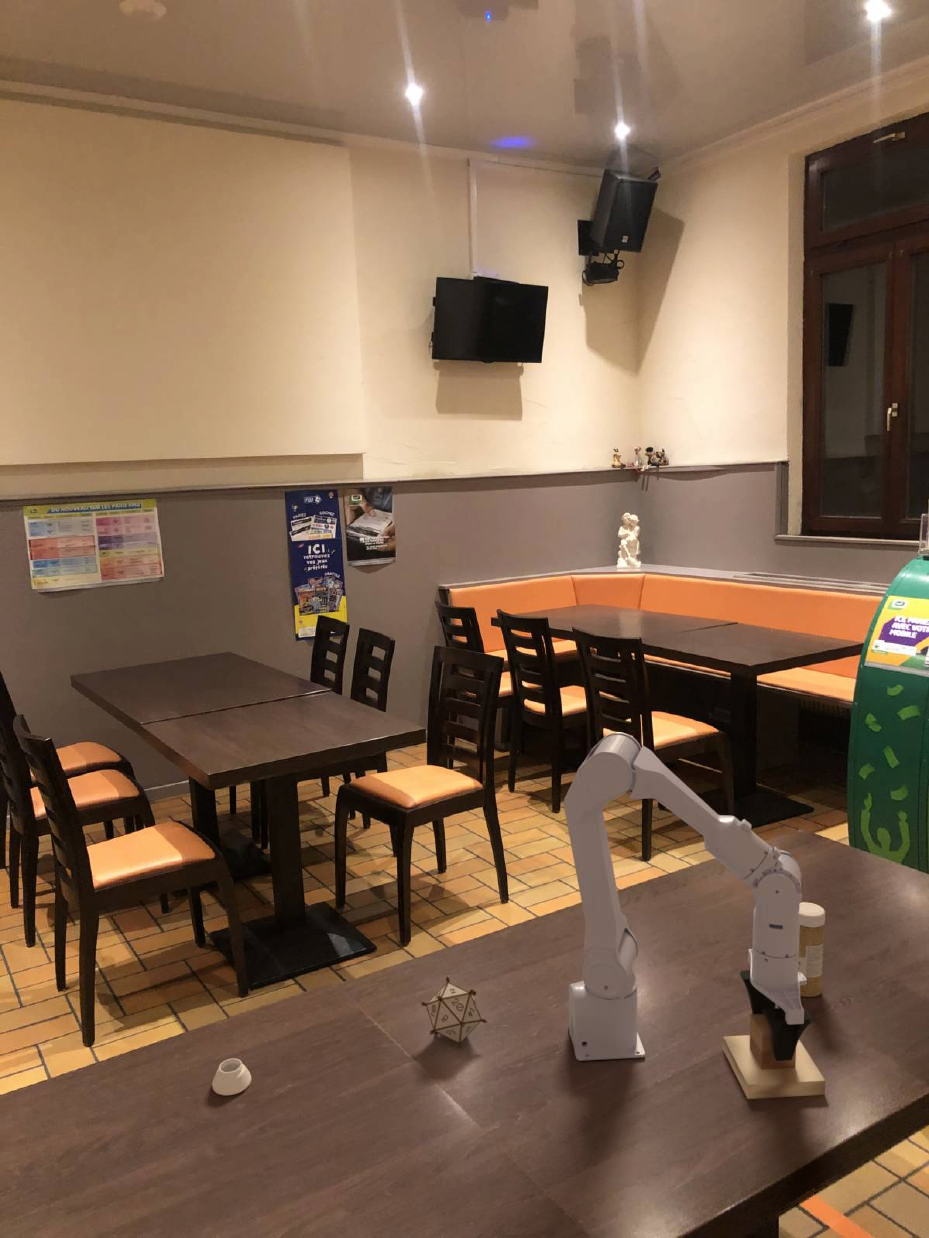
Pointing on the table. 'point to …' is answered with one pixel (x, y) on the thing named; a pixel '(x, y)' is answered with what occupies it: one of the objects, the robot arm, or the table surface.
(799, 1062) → the birch base
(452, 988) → the game die
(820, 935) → the sprinkles bottle
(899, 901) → the table surface
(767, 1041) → the walnut block
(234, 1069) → the lidless jar
